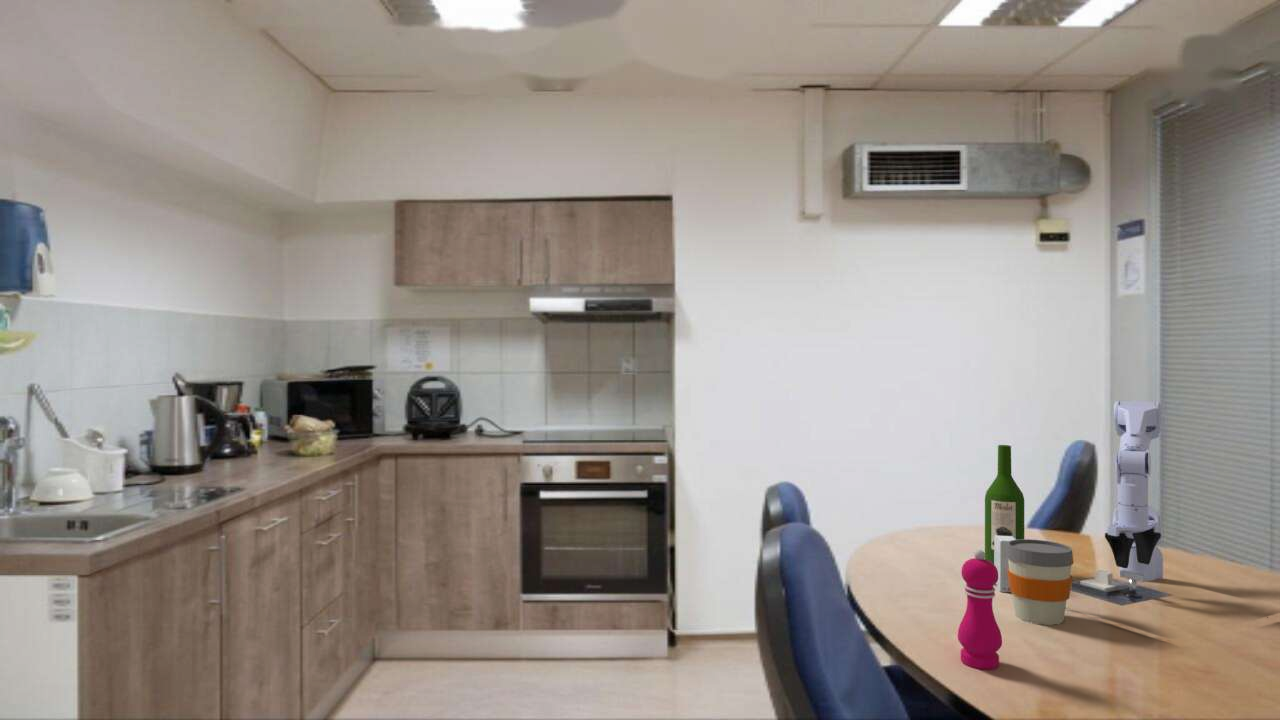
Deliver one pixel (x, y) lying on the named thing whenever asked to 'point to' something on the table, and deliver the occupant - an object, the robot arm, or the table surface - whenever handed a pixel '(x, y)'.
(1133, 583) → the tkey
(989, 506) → the wine bottle
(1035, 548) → the reusable coffee cup
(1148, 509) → the robot arm
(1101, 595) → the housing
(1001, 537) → the skincare box
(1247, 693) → the table surface
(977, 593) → the pepper mill
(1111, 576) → the cover
